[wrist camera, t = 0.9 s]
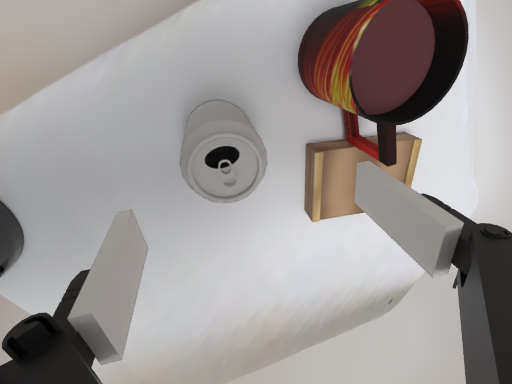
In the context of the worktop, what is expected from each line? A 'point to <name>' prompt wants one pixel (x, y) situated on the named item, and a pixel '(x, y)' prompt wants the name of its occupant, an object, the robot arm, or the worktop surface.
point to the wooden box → (348, 174)
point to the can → (222, 153)
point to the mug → (384, 63)
